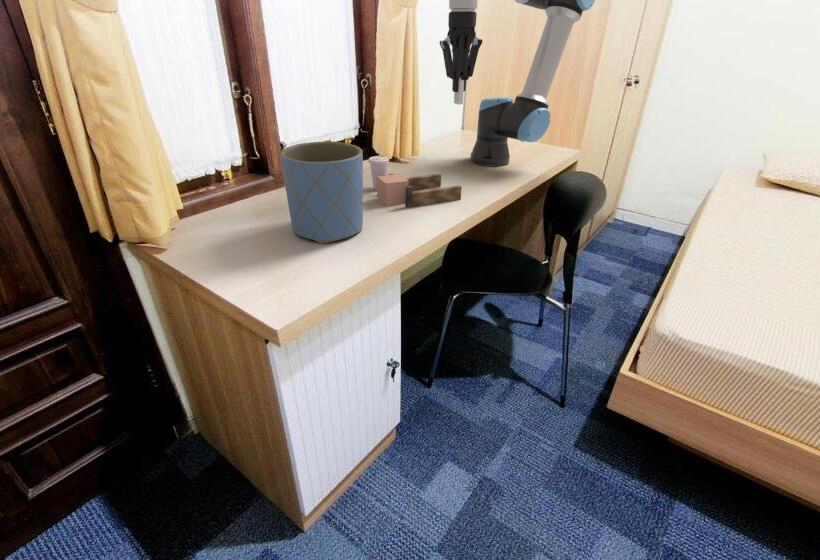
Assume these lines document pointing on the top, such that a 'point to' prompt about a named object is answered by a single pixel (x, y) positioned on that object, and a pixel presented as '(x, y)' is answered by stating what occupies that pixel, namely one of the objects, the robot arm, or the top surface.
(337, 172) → the planter
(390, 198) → the block
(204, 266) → the top surface
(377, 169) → the smoothie
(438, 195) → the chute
